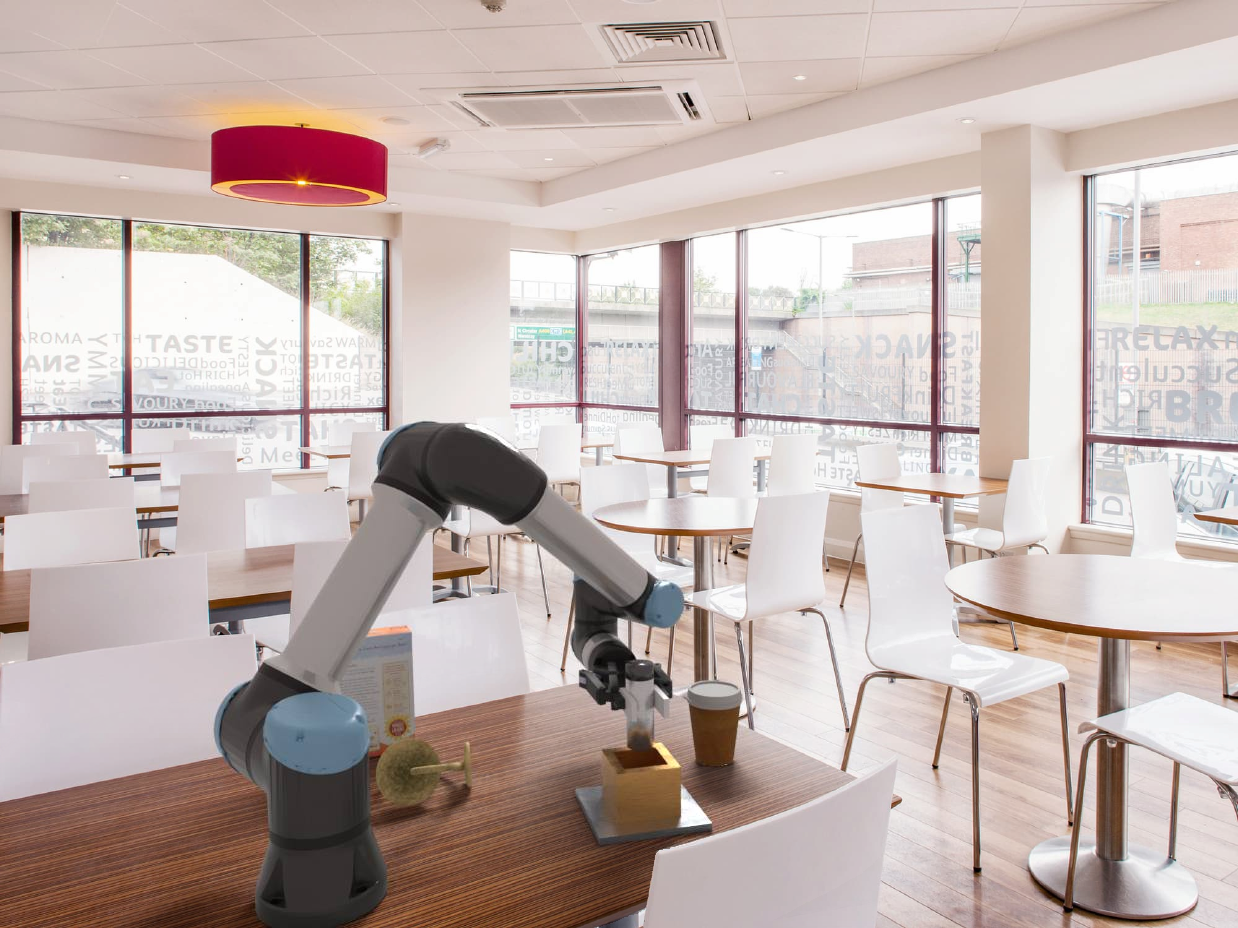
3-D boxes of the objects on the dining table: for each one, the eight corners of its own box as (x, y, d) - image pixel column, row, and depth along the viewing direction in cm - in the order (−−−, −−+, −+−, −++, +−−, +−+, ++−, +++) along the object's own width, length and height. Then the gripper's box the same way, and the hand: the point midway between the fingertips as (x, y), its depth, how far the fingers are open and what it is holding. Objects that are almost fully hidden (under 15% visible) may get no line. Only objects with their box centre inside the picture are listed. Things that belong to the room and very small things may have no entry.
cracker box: (411, 739, 158) (408, 623, 156) (416, 751, 152) (413, 631, 151) (328, 751, 153) (324, 631, 151) (330, 764, 147) (326, 640, 146)
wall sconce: (467, 734, 146) (471, 727, 123) (471, 795, 143) (475, 800, 120) (380, 743, 143) (367, 738, 120) (381, 806, 140) (368, 813, 117)
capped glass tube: (630, 751, 126) (629, 668, 125) (623, 741, 130) (622, 660, 129) (657, 748, 127) (656, 666, 126) (649, 738, 131) (648, 658, 130)
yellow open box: (599, 845, 119) (598, 787, 119) (575, 794, 135) (574, 743, 134) (712, 829, 123) (711, 773, 123) (676, 782, 139) (675, 732, 138)
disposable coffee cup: (681, 768, 144) (681, 695, 144) (690, 745, 154) (690, 677, 153) (740, 773, 142) (740, 699, 141) (746, 750, 151) (746, 681, 150)
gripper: (660, 679, 148) (709, 730, 125) (558, 689, 144) (590, 743, 121) (659, 635, 147) (708, 677, 125) (557, 643, 143) (589, 689, 120)
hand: (650, 710), depth 123 cm, fingers closed on capped glass tube, 4 cm apart
